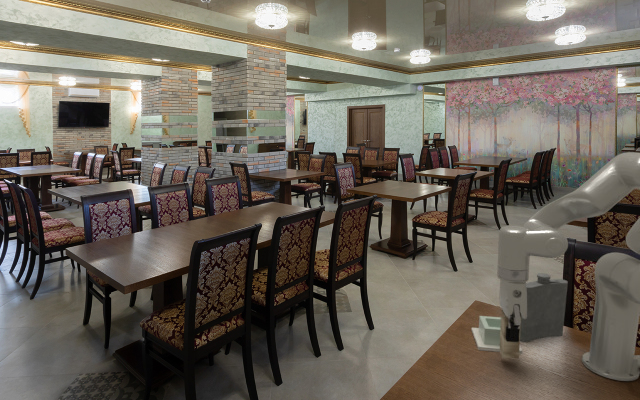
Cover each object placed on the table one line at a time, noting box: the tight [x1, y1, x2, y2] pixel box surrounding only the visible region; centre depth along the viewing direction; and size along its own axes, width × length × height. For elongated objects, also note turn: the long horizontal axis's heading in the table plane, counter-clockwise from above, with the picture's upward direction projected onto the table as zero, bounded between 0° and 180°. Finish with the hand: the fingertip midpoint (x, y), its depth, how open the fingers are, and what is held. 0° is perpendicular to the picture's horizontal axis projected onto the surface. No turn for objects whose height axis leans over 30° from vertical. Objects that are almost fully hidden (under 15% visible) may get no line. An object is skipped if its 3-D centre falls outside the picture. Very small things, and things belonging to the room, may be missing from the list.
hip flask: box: [520, 272, 569, 343], centre depth 124 cm, size 16×4×20 cm, turn 105°
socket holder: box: [471, 315, 524, 355], centre depth 123 cm, size 12×12×6 cm
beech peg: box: [499, 309, 521, 360], centre depth 110 cm, size 4×4×12 cm
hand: (509, 336), depth 110 cm, fingers closed on beech peg, 4 cm apart
